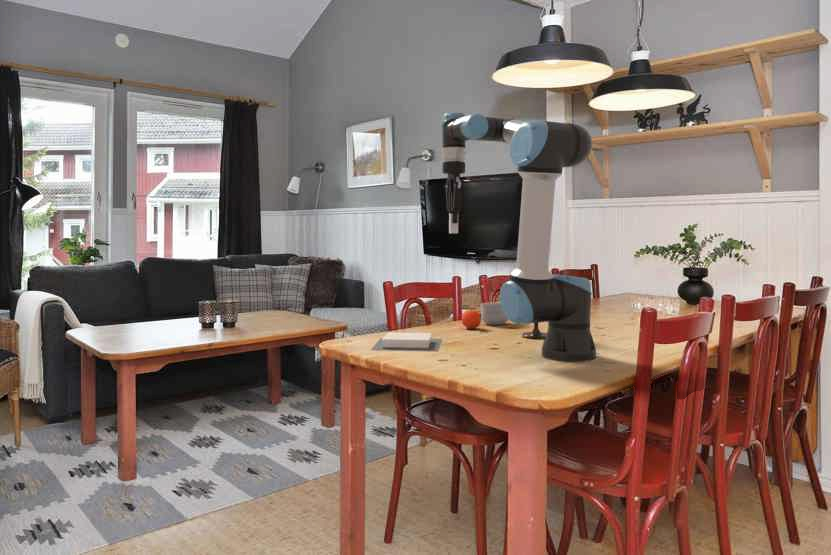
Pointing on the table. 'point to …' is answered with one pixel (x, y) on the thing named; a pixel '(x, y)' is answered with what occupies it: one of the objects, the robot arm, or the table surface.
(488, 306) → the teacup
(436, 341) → the mat
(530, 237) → the robot arm
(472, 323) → the clementine
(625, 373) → the table surface
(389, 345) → the tile
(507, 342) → the table surface
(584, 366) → the table surface
